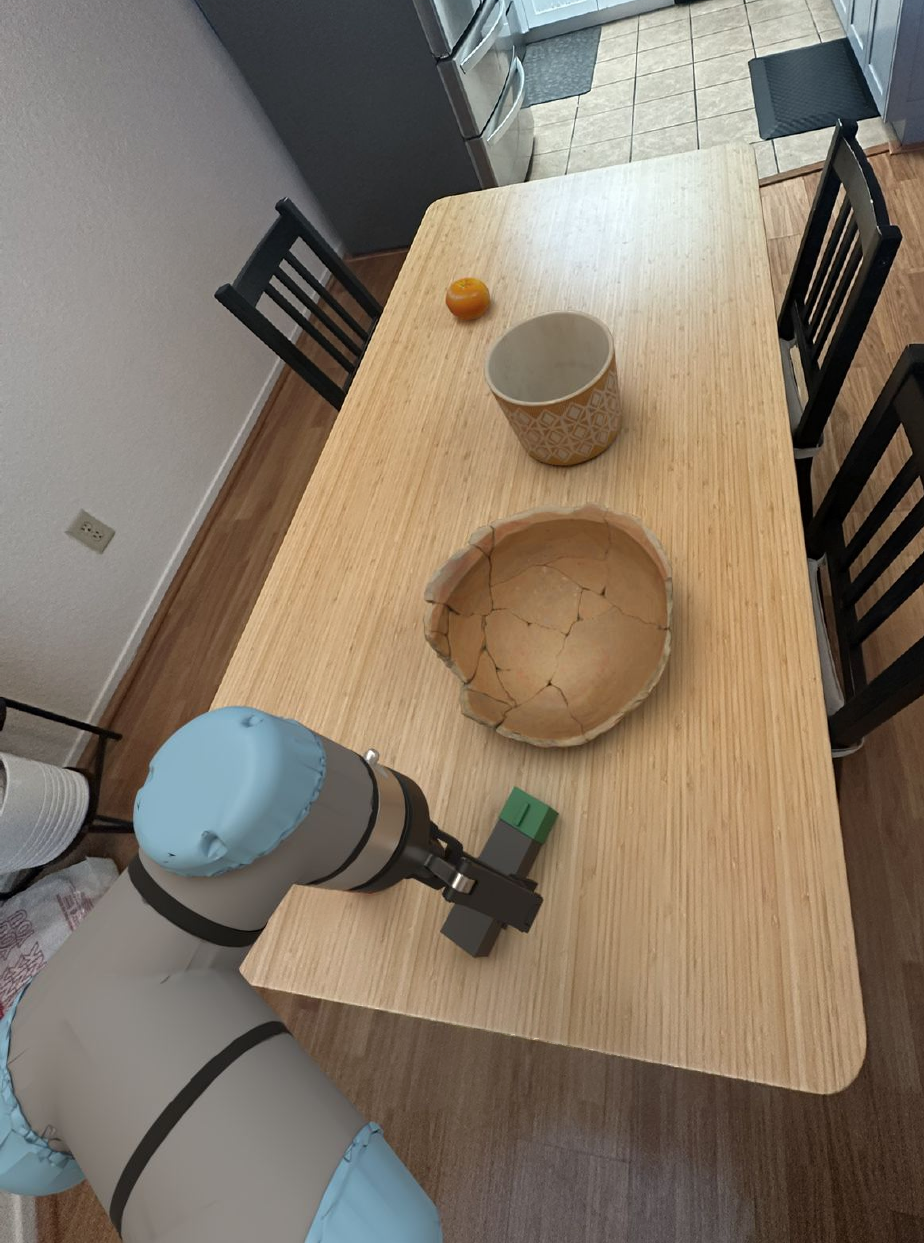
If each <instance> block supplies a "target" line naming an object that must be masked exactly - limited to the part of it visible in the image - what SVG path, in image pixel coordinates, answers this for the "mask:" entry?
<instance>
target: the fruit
mask: <svg viewBox="0 0 924 1243" xmlns="http://www.w3.org/2000/svg"><path fill="white" fill-rule="evenodd" d="M490 303H491V295H490V291H489V288H488V286H487V285H486V284H485V283H484V282H483V281H482V280H481V279H479V278H476V277H463V278H460V279H457V280H456V281H454V282H453V283H451V284H450V286H449V287H448V289H447V290H446V294H445V305H446V308H448V310H449V312H450V313H451V314H452V315H453V316H455V317H457V318H458V319H461V320H468V321H469V320H470V321H471V320H474V319H477V318H479V317H481V316H482V315H484V314H485V312H486V311H487V310H488V308H489V306H490Z"/></svg>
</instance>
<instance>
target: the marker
mask: <svg viewBox="0 0 924 1243" xmlns="http://www.w3.org/2000/svg"><path fill="white" fill-rule="evenodd" d="M559 814H560V813H559V812H558V811H556V809H554V808H552V807H551V806H549V805H547V804H546V803H545V802H542V801H541V800H539V799H538V798H536V797H535V796H533V795H531V794H529V793H528V792H526V791H524V790H523V789H521V788H519V786H516V785H514V786H513V788H512V790H511V792H510V794H509V796H508V797H507V799H506V801H505V803H504V805H503V806H502V809H501V811H500V813H499V815H498V816H497V817H498V820H497V821H496V823H495V825H494V828H493V829H492V831H491V833H490V835H489V837H488V839H487V841H486V842H485V845H484V846H483V848H482V850H481V852H480V853H479V856H478V858H477V859H479V860H481V861H483V862H484V863H486V864H488V865H490V866H492V867H493V868H495V869H497V870H499V871H501V872H503V873H504V874H506V875H508V876H509V874H510V873H512V874H515V875H519V876H523V877H526V878H528V876H529V874H530V872H531V871H532V868H533V866H534V864H535V862H536V860H537V857H538V855H539V854H540V852H541V849H542V848H543V845H545V844H546V841H547V839H548V837H549V836H550V834H551V831H552V829H553V828H554V824H555V823H556V822H557V819H558V816H559ZM448 913H449V914H448V915H447V916H446V918H445V921H444V922H443V925H442V926H441V928H440V930H439V932H440V933H441V934H442V935H443V936H444V937H446V938H447V939H449V940H450V941H451V942H452V943H454V944H455V945H456V946H458V947H459V948H460V949H462V950H463V951H464V952H466V953H467V954H468V955H470V956H471V957H472V958H474V959H477V958H478V959H479V958H489V956H490V954H491V953H492V950H493V948H494V946H495V944H496V942H497V940H498V938H499V936H500V934H501V932H502V930H503V929H502V928H501V927H500V926H499V925H498V923H496V922H497V920H496V919H494V918H491V917H489V916H487V915H485V914H482V913H480V912H478V911H475V910H473V909H471V908H469V907H466V906H462V905H458V904H455V903H453V906H452V908H450V911H449V912H448Z"/></svg>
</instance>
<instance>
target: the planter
mask: <svg viewBox="0 0 924 1243" xmlns="http://www.w3.org/2000/svg"><path fill="white" fill-rule="evenodd" d="M618 375H619V374H618V366H617V358H616V350H615V341H614V337H613V334H612V332H611V330H610V329H609V327H608V326H607V325H606V324H605V323H604V322H603V321H602V320H600V319H599V318H597V317H596V316H595V315H592V314H590V313H588V312H583V311H579V310H574V309H554V310H547V311H543V312H539V313H536V314H535V313H534V314H532V315H530V316H528V317H525V318H523V319H521V320H518V321H517V322H516V323H514V324H512V325H511V326H509V327H507V329H506V330H504V331H503V332H502V333H500V335H499V336H498V337H497V338H496V339H495V340H494V342H492V344H491V346H490V347H489V349H488V351H487V353H486V355H485V359H484V362H483V376H484V380H485V382H486V384H487V386H488V388H489V390H490V392H491V394H492V395H493V397H494V398H495V400H496V402H497V404H498V405H499V407H500V409H501V411H502V413H503V414H504V416H505V419H507V421H508V423H509V425H510V427H511V428H512V430H513V432H514V434H515V435H516V437H517V438H518V441H519V443H520V444H521V446H522V447H523V449H524V450H525V451H526V453H528V454H529V455H530V456H531V457H532V458H534V459H536V460H538V461H540V462H542V463H545V464H549V465H553V466H554V465H555V466H571V465H572V466H573V465H576V464H580V463H583V462H586V461H589V460H591V459H593V458H595V457H597V456H598V455H600V454H601V453H603V452H604V451H605V450H606V449H608V447H610V445H611V444H612V443H613V441H614V440H615V439H616V437H617V435H618V433H619V432H620V429H621V425H622V421H623V412H622V411H623V410H622V402H621V394H620V393H621V392H620V385H619V376H618Z"/></svg>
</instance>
